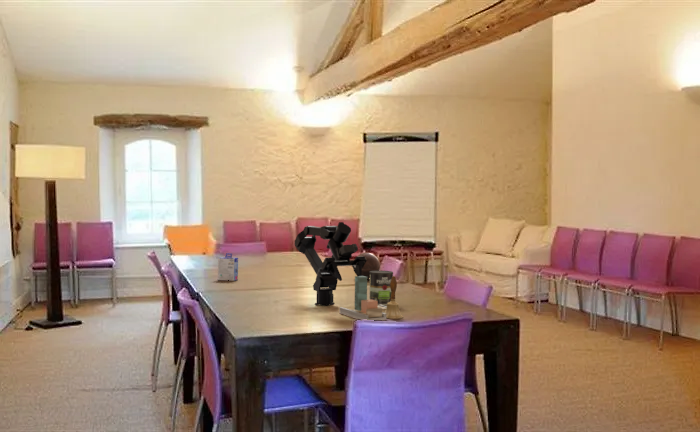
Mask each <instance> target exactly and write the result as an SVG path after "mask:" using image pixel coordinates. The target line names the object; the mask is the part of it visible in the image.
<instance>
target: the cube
mask: <svg viewBox="0 0 700 432" xmlns="http://www.w3.org/2000/svg"><path fill="white" fill-rule="evenodd" d="M378 306H379V305H378V301H375V300H372V299H370V300H369V299H367V300H361V312H363V313H366V309H372V308H378Z"/></svg>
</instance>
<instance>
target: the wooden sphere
mask: <svg viewBox="0 0 700 432" xmlns="http://www.w3.org/2000/svg"><path fill="white" fill-rule="evenodd" d="M357 256H365V258H366V260H367V261H366V263H365V265H364V266H363V268H362V276H365V277H367V279H368V280H370V279H369V278H370V271H381V263H380V259H379V258H378V257H377V256H376V255H375V254H373V253H370V252H363V253H360V254H358V255H357ZM352 268H353V267H352ZM353 270H354V268H353ZM354 273H355V272H354ZM355 275H356V273H355Z"/></svg>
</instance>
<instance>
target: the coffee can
mask: <svg viewBox="0 0 700 432" xmlns="http://www.w3.org/2000/svg"><path fill="white" fill-rule="evenodd" d="M392 276H394V272H393V271H391V270H379V271H370V279H369V297H368V300H370V299H372V300H375V301H378V306H379V305H384V306H387V303H389V302H390V301H391V288H390V282H391V279H392Z"/></svg>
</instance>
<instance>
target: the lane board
mask: <svg viewBox="0 0 700 432" xmlns="http://www.w3.org/2000/svg"><path fill="white" fill-rule="evenodd" d="M378 306H382V307H386V308H387V305H386V306H384V305H378ZM338 312H339V314H341V315H343V316H345V317H346V316H347V317H349V318H353V319H356V320H358V319H367V320H382V321H387V318H386V314H385V312H382V317H371V318H368V316H369V315H366V314H362V313H359V312H356V311H353V309H349V308H346V307H342V306H339V311H338Z"/></svg>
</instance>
